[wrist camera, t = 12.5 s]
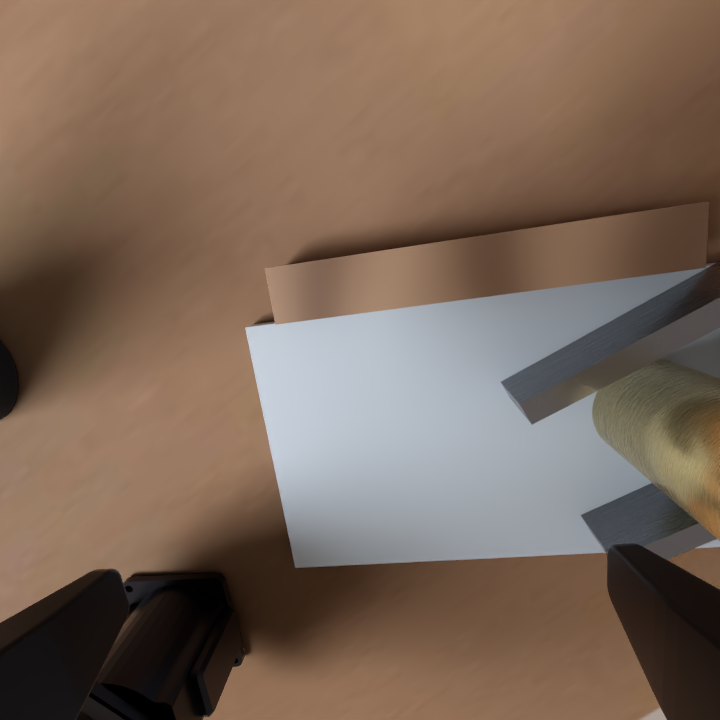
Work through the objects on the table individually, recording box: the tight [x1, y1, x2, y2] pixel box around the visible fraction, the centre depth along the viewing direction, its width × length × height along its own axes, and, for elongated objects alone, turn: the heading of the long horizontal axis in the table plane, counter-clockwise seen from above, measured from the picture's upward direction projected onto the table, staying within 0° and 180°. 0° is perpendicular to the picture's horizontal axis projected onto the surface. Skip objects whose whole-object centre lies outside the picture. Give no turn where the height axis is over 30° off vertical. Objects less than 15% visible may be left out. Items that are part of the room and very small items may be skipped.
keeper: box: [501, 261, 720, 560], centre depth 16 cm, size 10×9×3 cm
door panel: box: [245, 263, 720, 568], centre depth 19 cm, size 25×14×1 cm, turn 98°
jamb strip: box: [265, 201, 709, 325], centre depth 17 cm, size 17×2×2 cm, turn 98°
